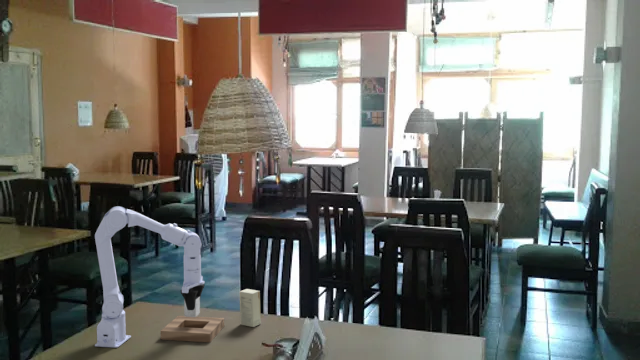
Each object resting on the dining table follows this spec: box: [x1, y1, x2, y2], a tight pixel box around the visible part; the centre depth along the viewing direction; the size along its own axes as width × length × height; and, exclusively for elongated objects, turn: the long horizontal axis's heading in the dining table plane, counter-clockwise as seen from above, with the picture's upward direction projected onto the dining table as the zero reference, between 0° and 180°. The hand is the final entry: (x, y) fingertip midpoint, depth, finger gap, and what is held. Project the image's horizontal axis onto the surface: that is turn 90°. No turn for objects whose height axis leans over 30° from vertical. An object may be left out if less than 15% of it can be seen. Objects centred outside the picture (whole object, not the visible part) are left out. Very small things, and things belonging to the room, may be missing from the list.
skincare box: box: [239, 288, 262, 328], centre depth 202 cm, size 6×4×12 cm
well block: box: [160, 315, 225, 343], centre depth 194 cm, size 15×17×3 cm
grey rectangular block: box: [183, 296, 201, 317], centre depth 193 cm, size 4×4×6 cm
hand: (193, 307), depth 193 cm, fingers closed on grey rectangular block, 4 cm apart
